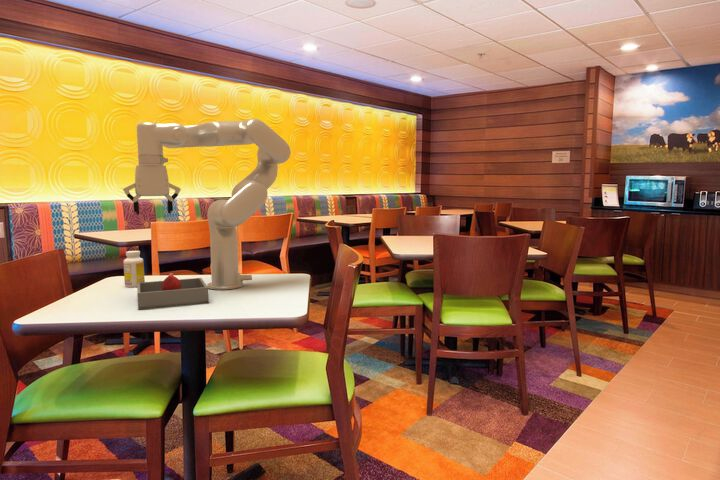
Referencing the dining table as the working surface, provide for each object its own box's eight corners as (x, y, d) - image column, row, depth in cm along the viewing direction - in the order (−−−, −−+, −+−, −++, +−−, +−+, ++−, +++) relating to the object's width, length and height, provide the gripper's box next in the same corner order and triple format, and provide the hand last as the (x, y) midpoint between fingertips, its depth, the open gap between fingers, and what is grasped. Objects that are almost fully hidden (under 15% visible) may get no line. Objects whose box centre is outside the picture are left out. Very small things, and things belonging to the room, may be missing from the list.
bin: (201, 292, 167) (201, 277, 166) (208, 303, 150) (208, 287, 150) (138, 297, 158) (137, 282, 158) (138, 310, 142) (137, 293, 142)
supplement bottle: (145, 283, 182) (144, 249, 181) (143, 287, 176) (142, 252, 174) (126, 284, 180) (124, 250, 179) (123, 288, 174) (121, 252, 172)
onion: (175, 300, 151) (174, 275, 150) (158, 299, 152) (157, 274, 151) (185, 296, 157) (183, 271, 156) (168, 295, 158) (167, 271, 157)
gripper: (177, 162, 165) (179, 212, 167) (121, 161, 157) (124, 214, 159) (180, 161, 158) (183, 213, 160) (121, 160, 150) (125, 215, 152)
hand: (153, 213), depth 159 cm, fingers open, 9 cm apart
